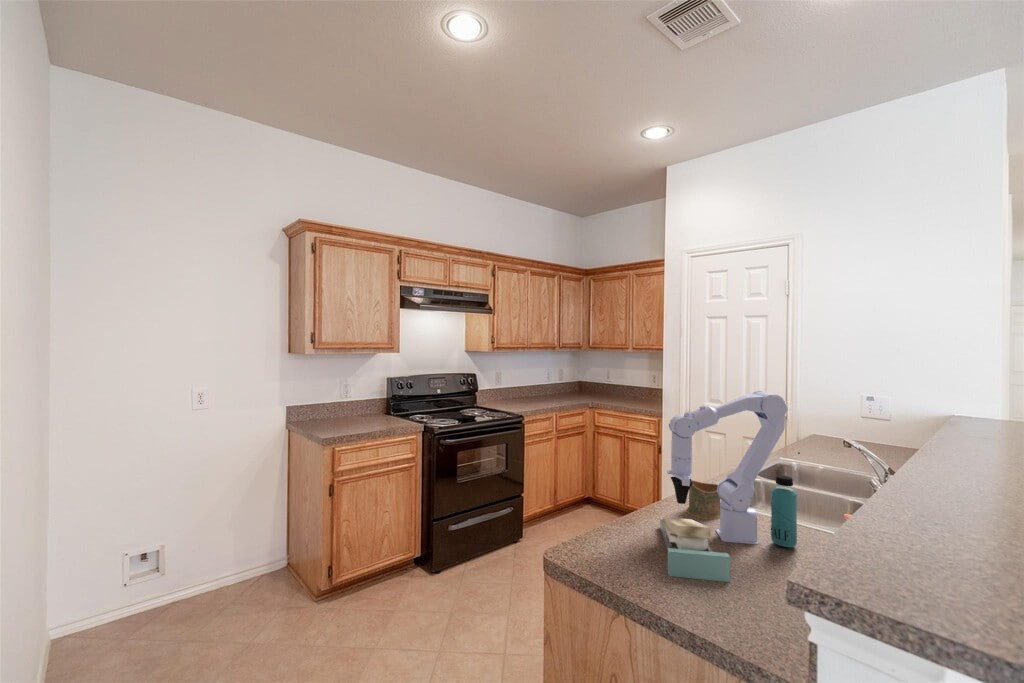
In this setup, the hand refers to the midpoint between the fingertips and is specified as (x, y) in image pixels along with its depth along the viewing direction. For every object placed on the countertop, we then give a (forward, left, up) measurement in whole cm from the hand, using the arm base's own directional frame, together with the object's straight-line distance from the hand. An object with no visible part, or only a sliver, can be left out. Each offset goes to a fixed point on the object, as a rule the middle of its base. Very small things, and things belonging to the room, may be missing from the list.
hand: (681, 502), depth 134 cm
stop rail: (0, +24, -10) cm, 26 cm away
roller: (0, +17, -3) cm, 17 cm away
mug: (-14, -20, -10) cm, 26 cm away
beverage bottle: (-27, +2, -10) cm, 29 cm away
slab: (+1, +12, -4) cm, 12 cm away
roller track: (0, +9, -10) cm, 13 cm away
